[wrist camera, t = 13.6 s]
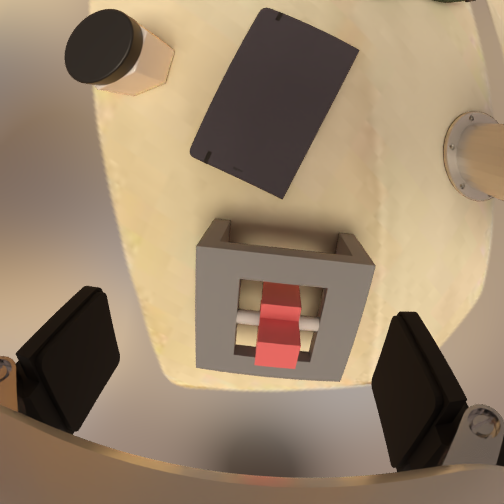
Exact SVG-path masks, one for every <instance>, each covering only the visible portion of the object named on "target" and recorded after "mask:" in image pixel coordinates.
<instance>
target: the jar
mask: <svg viewBox="0 0 504 504" xmlns="http://www.w3.org/2000/svg"><path fill="white" fill-rule="evenodd" d="M173 55H174V50H173V49H172V48H171V47H170V46H168V45H167V44H166V43H165V42H163V41H162V40H161V39H160V38H158V37H157V36H156V35H154V34H153V33H152V32H150V31H149V30H147V29H146V28H145V27H143V26H142V25H140V24H139V23H137V22H136V21H135V20H134V19H132V18H131V17H129V16H128V15H126V14H125V13H123V12H121V11H119V10H115V9H105V10H101V11H98V12H95V13H93V14H91V15H89V16H88V17H87V18H85V19H84V20H83V21H82V22H81V23H80V24H79V25H78V26H77V27H76V28H75V29H74V31H73V32H72V34H71V36H70V38H69V40H68V42H67V45H66V50H65V65H66V68H67V71H68V73H69V74H70V75H71V76H72V77H73V78H74V79H75V80H77V81H79V82H81V83H86V84H92V85H94V86H95V87H96V88H97V89H98V90H103V91H109V92H115V93H121V94H126V95H131V96H136V95H138V94H140V93H143V92H145V91H148V90H150V89H152V88H155V87H157V86H160V85H162V84H165V83H166V79H167V76H168V72H169V69H170V65H171V62H172V58H173Z"/></svg>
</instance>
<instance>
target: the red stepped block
mask: <svg viewBox="0 0 504 504" xmlns="http://www.w3.org/2000/svg"><path fill="white" fill-rule="evenodd" d="M300 313H301V299H300V290H299V285H291V284H282V283H273V282H264V281H263V291H262V300H261V304H260V319H259V326H258V332H257V342H256V351H255V352H256V354H255V364H254V365H258V366H267V367H277V368H289V369H295V368H296V364H297V359H298V355H299V351H300V347H301V344H300V331H299V318H300Z"/></svg>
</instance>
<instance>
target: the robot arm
mask: <svg viewBox="0 0 504 504" xmlns="http://www.w3.org/2000/svg"><path fill="white" fill-rule="evenodd" d="M444 162H445V167H446V171H447V174H448V177H449V179H450V181H451V183H452V184H453V186H454V187H455V189H456V190H457V191H458V192H459V193H460V194H462V195H463V196H465V197H467V198H469V199H471V200H475V201H485V200H489V199H491V198H493V197H495V198H498V199H500V200H502V201H504V124H499V123H498V122H497V121H496V120H495V119H494V118H493V117H491V116H489V115H488V114H485V113H482V112H467V113H465V114H462V115H461V116H459V117H458V118H457V119H456V120H455V121H454V122H453V123H452V125H451V126H450V128H449V130H448V132H447V135H446V138H445V144H444ZM16 356H17V358H18V360H19V361H18V362H17V363H16V364H15V362H14V361H13V359H11V358H9V357H5V356H0V504H504V421H503V418H502V417H501V415H500V414H499V413H498V412H497V411H496V410H495V409H493V408H491V407H490V406H486V405H483V404H476V405H473V406H470V407H468V405H467V403H466V400H467V398H466V396H465V394H464V392H463V390H462V388H461V387H460V385H459V383H458V381H457V379H456V377H455V376H454V374H453V372H452V370H451V368H450V367H449V365H448V363H447V361H446V360H445V358H444V356H443V354H442V353H441V351H440V349H439V348H438V346H437V344H436V342H435V341H434V339H433V337H432V336H431V334H430V333H429V331H428V329H427V328H426V326H425V324H424V323H423V321H422V320H421V318H420V316H419V315H418V313H417V312H399V313H398V314H397V316H393V318H392V320H391V323H390V326H389V330H388V333H387V336H386V339H385V342H384V345H383V348H382V351H381V354H380V357H379V360H378V363H377V366H376V369H375V372H374V374H373V377H372V390H373V394H374V398H375V401H376V405H377V409H378V413H379V417H380V421H381V424H382V428H383V433H384V437H385V441H386V445H387V449H388V453H389V457H390V462H391V466H392V467H393V468H395V467H396V469H397V472H395V473H387V474H378V475H365V476H353V477H352V476H351V477H332V478H286V477H266V476H253V475H242V474H233V473H224V472H216V471H210V470H203V469H197V468H191V467H186V466H181V465H176V464H171V463H166V462H162V461H157V460H153V459H148V458H145V457H141V456H137V455H133V454H130V453H126V452H122V451H119V450H116V449H112V448H109V447H106V446H103V445H100V444H97V443H94V442H91V441H88V440H85V439H82V438H80V437H77V436H74V435H73V433H74V431H78V430H79V429H80V427H81V426H82V423H83V422H84V420H85V419H86V417H87V415H88V414H89V412H90V410H91V409H92V407H93V405H94V403H95V402H96V400H97V398H98V397H99V395H100V393H101V392H102V390H103V388H104V386H105V385H106V384H107V382H108V380H109V379H110V377H111V375H112V374H113V372H114V370H115V369H116V367H117V366H118V364H119V361H120V354H119V350H118V346H117V342H116V337H115V333H114V329H113V324H112V319H111V315H110V310H109V305H108V300H107V296H106V294H105V293H103V291H102V289H101V288H98V287H91V286H84V287H83V288H82V289H81V290H80V291H79V292H77V293H76V294H75V295H74V296H73V297H72V298H71V299H70V300H69V301H68V302H67V303H66V304H65V305H64V306H63V307H61V308H60V309H59V310H58V311H57V312H56V313H55V314H54V315H53V316H52V317H51V318H50V319H49V320H48V321H47V322H46V323H45V324H44V325H43V326H42V327H41V328H40V329H39V330H38V331H37V332H36V333H35V334H34V335H33V336H32V337H31V338H30V339H29V340H28V341H27V342H26V343H25V344H24V345H23V346H22V347H21V348H20V349H19V350H18V351H17V353H16Z"/></svg>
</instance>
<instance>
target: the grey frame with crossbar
mask: <svg viewBox="0 0 504 504" xmlns="http://www.w3.org/2000/svg"><path fill="white" fill-rule="evenodd" d="M229 233H230V220H222V219H214V221H213V222H212V224H211V225H210V227H209V228H208V230H207V231H206V232H205V234H204V235H203V237H202V238H201V240H200V241H199V243H198V244H197V246H196V295H195V331H196V368H201V369H208V370H215V371H222V372H229V373H237V374H245V375H254V376H263V377H274V378H285V379H299V380H315V381H337V382H340V380H341V378H342V375H343V372H344V369H345V366H346V364H347V361H348V358H349V355H350V352H351V349H352V346H353V343H354V340H355V337H356V333H357V330H358V327H359V324H360V321H361V317H362V314H363V310H364V307H365V303H366V300H367V296H368V293H369V289H370V285H371V282H372V278H373V274H374V270H375V264H374V263H373V261H372V260H371V258H370V257H369V255H368V254H367V253H366V251H365V250H364V248H363V247H362V245H361V244H360V242H359V241H358V240H357V238H356V237H355V235H353V234H345V233H339V237H338V243H337V248H336V253H335V254H329V253H321V252H312V251H303V250H294V249H285V248H276V247H267V246H258V245H249V244H240V243H230V242H229ZM241 279H246V280H255V281H264V282H273V283H282V284H291V285H301V286H311V287H321V288H323V293H322V297H321V302H320V307H319V311H318V315H317V317H311V316H300V318H299V330H307V331H314V333H313V337H312V341H311V345H310V349H309V352H305V351H299V355H298V359H297V364H296V368H295V369H289V368H277V367H267V366H258V365H254V364H255V354H256V352H255V351H256V347H252V346H244V345H236V333H237V323H239V324H247V325H256V326H259V319H260V311H252V310H244V309H238V308H239V296H240V284H241Z"/></svg>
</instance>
